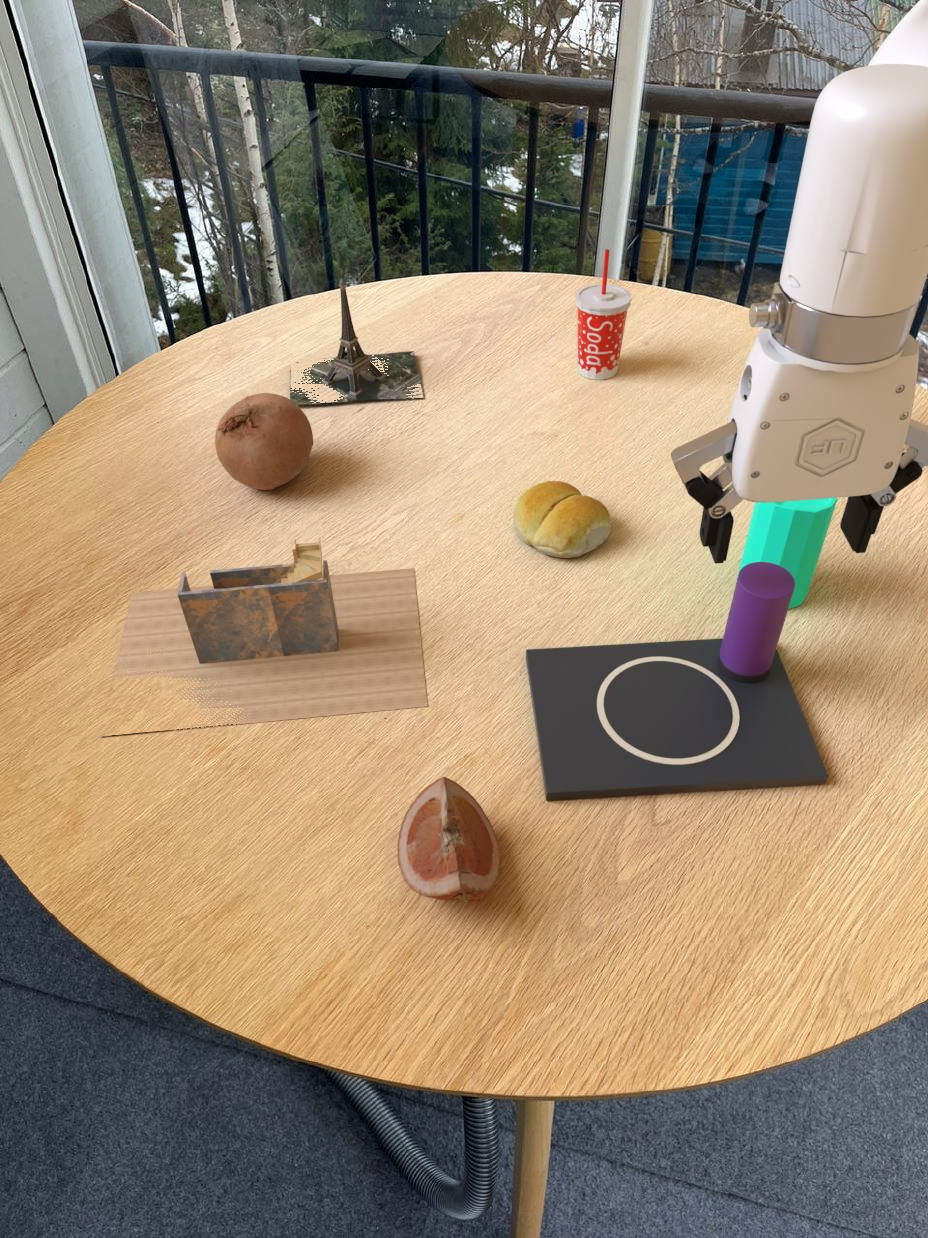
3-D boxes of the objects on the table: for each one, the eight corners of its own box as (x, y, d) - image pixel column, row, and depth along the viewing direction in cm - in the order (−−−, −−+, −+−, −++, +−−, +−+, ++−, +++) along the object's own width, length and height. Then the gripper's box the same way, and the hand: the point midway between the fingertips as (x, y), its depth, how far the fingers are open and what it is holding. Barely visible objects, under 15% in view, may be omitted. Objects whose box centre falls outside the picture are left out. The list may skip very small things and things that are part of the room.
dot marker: (761, 644, 75) (785, 559, 69) (776, 682, 73) (802, 596, 66) (712, 647, 75) (731, 562, 69) (724, 684, 72) (746, 599, 66)
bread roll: (555, 491, 92) (557, 457, 90) (623, 534, 87) (627, 499, 85) (492, 526, 89) (492, 492, 86) (559, 573, 84) (562, 538, 81)
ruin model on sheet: (413, 568, 85) (406, 479, 78) (427, 706, 73) (420, 616, 66) (131, 592, 83) (99, 504, 76) (100, 737, 71) (58, 648, 65)
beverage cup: (560, 373, 108) (567, 254, 99) (587, 351, 112) (595, 233, 102) (607, 388, 106) (619, 267, 96) (633, 365, 109) (646, 246, 100)
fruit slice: (510, 921, 60) (511, 880, 56) (405, 935, 59) (400, 895, 56) (490, 811, 66) (490, 768, 62) (395, 823, 65) (389, 781, 62)
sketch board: (769, 643, 77) (771, 634, 76) (825, 784, 67) (829, 775, 66) (525, 657, 76) (525, 648, 76) (546, 801, 66) (546, 792, 66)
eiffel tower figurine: (416, 354, 112) (409, 243, 103) (424, 398, 105) (417, 283, 96) (290, 365, 111) (271, 254, 102) (290, 410, 104) (269, 295, 95)
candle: (803, 617, 79) (840, 503, 71) (731, 601, 80) (758, 488, 72) (810, 572, 83) (846, 459, 74) (741, 558, 84) (768, 446, 76)
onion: (259, 523, 95) (210, 472, 86) (232, 455, 99) (182, 400, 90) (341, 477, 94) (300, 422, 85) (311, 411, 98) (268, 352, 89)
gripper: (706, 360, 51) (671, 591, 63) (1022, 338, 51) (927, 572, 63) (676, 297, 56) (649, 520, 68) (962, 277, 56) (885, 503, 68)
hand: (783, 545), depth 66 cm, fingers open, 9 cm apart
